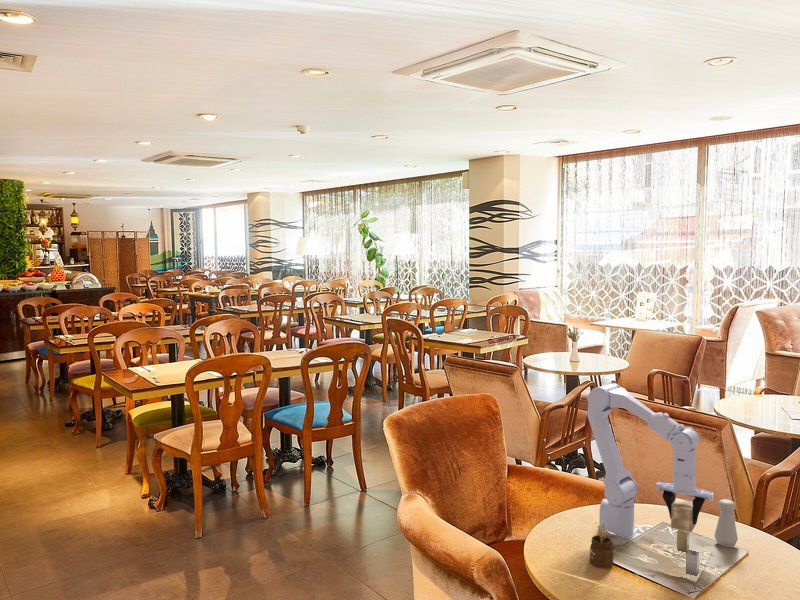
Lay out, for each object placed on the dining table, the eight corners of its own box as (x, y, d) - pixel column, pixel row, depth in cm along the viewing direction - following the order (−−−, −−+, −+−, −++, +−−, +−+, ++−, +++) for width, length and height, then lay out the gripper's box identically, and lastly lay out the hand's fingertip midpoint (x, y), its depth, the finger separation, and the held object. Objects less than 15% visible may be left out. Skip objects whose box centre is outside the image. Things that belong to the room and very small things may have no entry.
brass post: (676, 551, 179) (677, 531, 178) (678, 547, 181) (679, 528, 181) (686, 553, 177) (687, 534, 177) (688, 549, 179) (689, 530, 179)
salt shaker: (739, 551, 179) (741, 505, 178) (717, 549, 180) (719, 504, 179) (733, 541, 185) (734, 497, 184) (712, 540, 186) (713, 496, 185)
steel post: (685, 573, 166) (686, 553, 166) (688, 569, 168) (688, 549, 168) (696, 576, 165) (697, 556, 164) (698, 572, 167) (699, 552, 166)
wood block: (671, 527, 178) (671, 504, 177) (675, 520, 182) (676, 498, 182) (691, 532, 175) (691, 508, 174) (695, 525, 179) (696, 502, 179)
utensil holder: (613, 560, 175) (613, 517, 174) (612, 571, 169) (613, 527, 168) (590, 557, 176) (590, 515, 176) (589, 568, 171) (589, 524, 170)
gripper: (653, 471, 178) (652, 519, 180) (710, 482, 170) (709, 532, 171) (660, 464, 184) (659, 510, 185) (715, 474, 176) (714, 523, 177)
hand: (683, 520), depth 178 cm, fingers closed on wood block, 5 cm apart
